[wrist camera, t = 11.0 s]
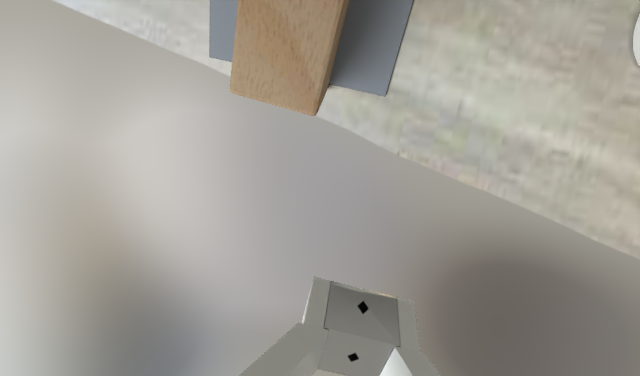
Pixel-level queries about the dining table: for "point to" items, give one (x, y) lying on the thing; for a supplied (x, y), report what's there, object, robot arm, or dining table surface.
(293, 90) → the wooden block
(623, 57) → the dining table surface
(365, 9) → the felt mat
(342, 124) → the dining table surface
